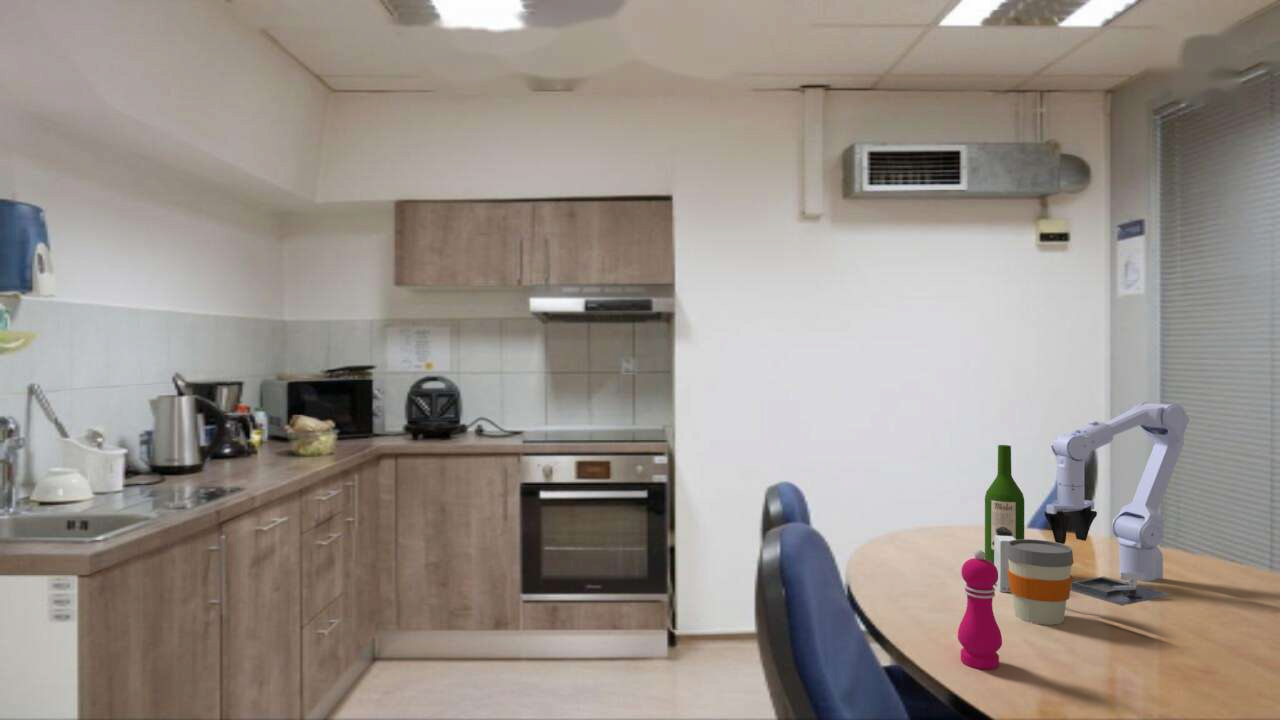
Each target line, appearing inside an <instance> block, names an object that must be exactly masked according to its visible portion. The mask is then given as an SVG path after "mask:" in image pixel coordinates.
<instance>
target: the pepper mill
mask: <svg viewBox="0 0 1280 720" xmlns="http://www.w3.org/2000/svg"><path fill="white" fill-rule="evenodd" d="M973 554H974V558H970V559H967V560H966V561H965V562H964V563H963V564H962V566H961V572H960V573H961V577H962V579H963V580H964V582H965V584H964V594H965V595H966V599H967V601H966V602H967V603H966V609H965V613H964V616H963V617H962V620H961V622H960V624H959V627H958V631H957V640H958V642H959V643H960V644H961V646H962V648H961V649H960V661H961V662H962V664H963V665H966V666H967V667H971V668H974V669H977V670H978V669H979V670H995V669H998V668H999V666H1000V654H998V653H997V652H998V651H999V650H1000V649H1001V647H1002V645H1003V636H1002V633H1001V629H1000V627H999V625H998V623H997V620H996V618H995V615H994V614H995V613H994V609H993V599H994V598H995V597H996V592H995V591H996V587H995V584H997V583H996V582H997V581H998V571H997V568H996V566H995V565H994V564H993V563H992V562H990V561H988V560H986V559H985V551H983V550H981V549H977V550H975V551H974V553H973Z"/></svg>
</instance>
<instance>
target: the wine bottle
mask: <svg viewBox="0 0 1280 720" xmlns="http://www.w3.org/2000/svg"><path fill="white" fill-rule="evenodd" d="M995 535H998V536H1012V537H1014V538H1015V539H1016V540H1018V539H1025V497H1024V493H1023V492H1022V490H1021V489H1020V487H1019V486H1018V484H1017V482H1016V481H1015V480H1014V478H1013V476H1012V445H1009V444H1006V445H1005V444H998V445H997V475H996V476H995V479H994V480H993V481H992V483H991V485H990V486H989V487H988V488H987V490H986V492H985V496H984V553H985V558H984V559H986V560H988V561H990V562H992V563H993V564H994V536H995Z"/></svg>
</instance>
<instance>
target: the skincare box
mask: <svg viewBox="0 0 1280 720" xmlns="http://www.w3.org/2000/svg"><path fill="white" fill-rule="evenodd" d="M1011 540H1016V539H1015V538H1014V537H1012V536H998V535H995V536H994V565H995V566H996V568H997V571H998V581H997V582H996V584H995V585H994V587H995V588H996V589H998V591H999V592H1000V593H1011V591H1010V587H1009V579H1008V572H1007V569H1008V568H1009V563H1008V558H1007V557H1006V550H1007V543H1008V541H1011Z"/></svg>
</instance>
